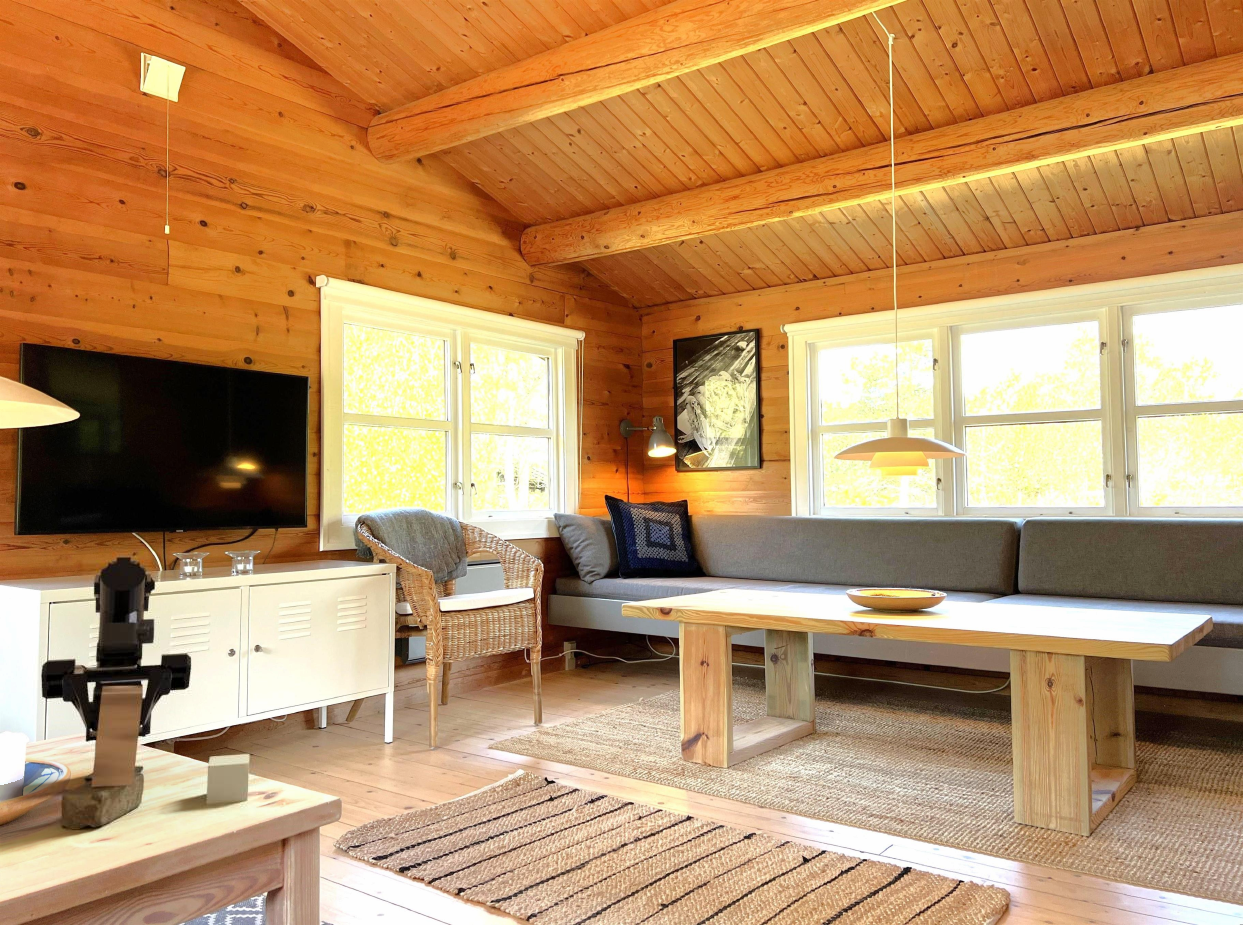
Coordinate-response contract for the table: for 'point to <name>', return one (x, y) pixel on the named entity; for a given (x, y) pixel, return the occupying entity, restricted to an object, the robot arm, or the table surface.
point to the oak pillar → (117, 736)
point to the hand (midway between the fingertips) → (116, 725)
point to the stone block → (99, 803)
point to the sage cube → (228, 779)
